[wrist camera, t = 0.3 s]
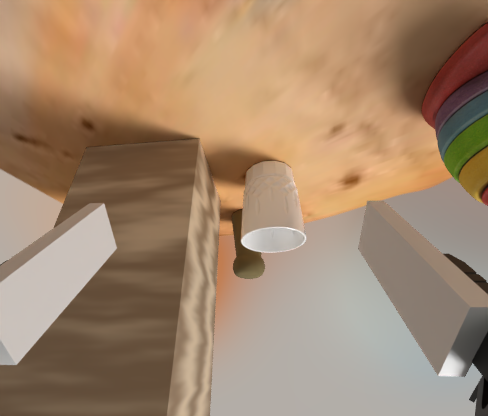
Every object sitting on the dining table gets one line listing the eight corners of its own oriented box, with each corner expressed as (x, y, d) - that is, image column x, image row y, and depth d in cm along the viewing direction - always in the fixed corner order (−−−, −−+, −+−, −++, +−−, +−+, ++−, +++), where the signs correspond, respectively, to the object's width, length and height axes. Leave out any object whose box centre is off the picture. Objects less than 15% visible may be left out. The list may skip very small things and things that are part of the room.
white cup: (244, 192, 40) (244, 253, 35) (238, 158, 33) (237, 228, 28) (295, 189, 39) (302, 251, 34) (299, 154, 33) (310, 225, 28)
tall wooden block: (86, 147, 31) (-102, 606, 14) (199, 138, 30) (141, 628, 13) (138, 205, 43) (70, 492, 26) (220, 201, 42) (205, 498, 25)
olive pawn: (228, 222, 49) (226, 280, 43) (235, 206, 44) (234, 270, 38) (259, 225, 50) (261, 282, 45) (269, 211, 45) (273, 273, 40)
